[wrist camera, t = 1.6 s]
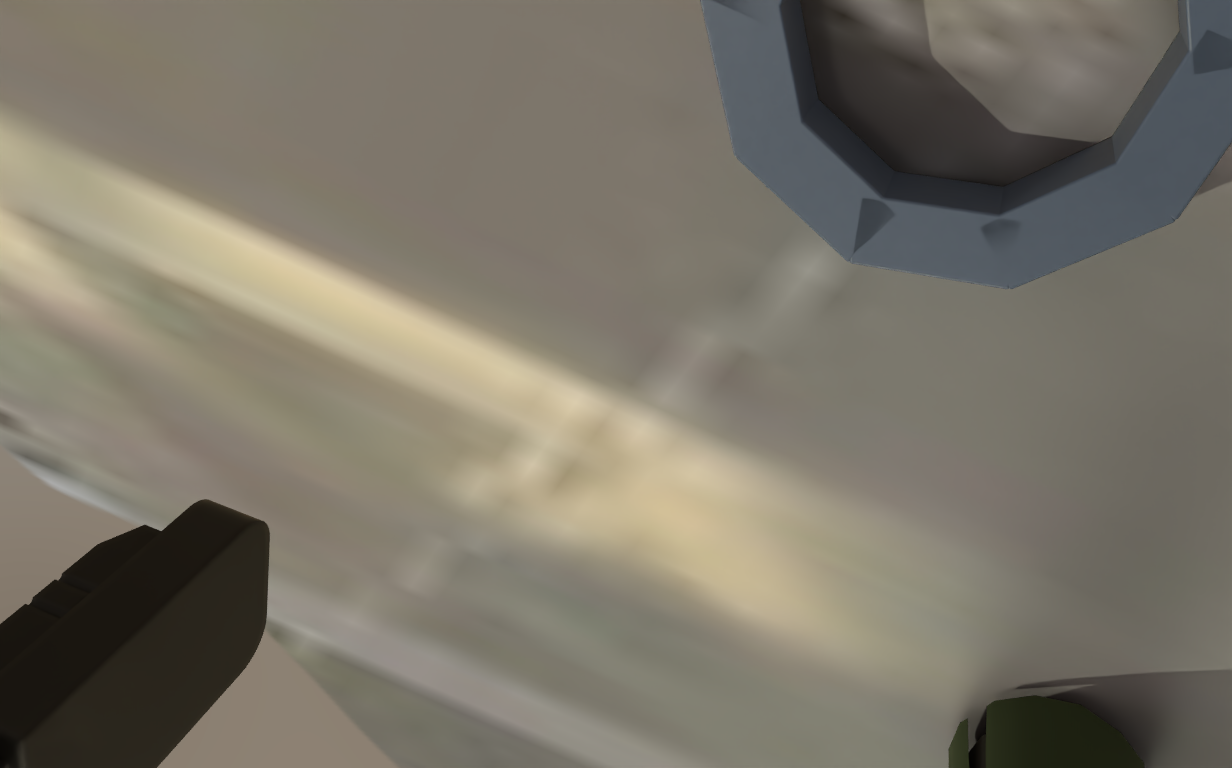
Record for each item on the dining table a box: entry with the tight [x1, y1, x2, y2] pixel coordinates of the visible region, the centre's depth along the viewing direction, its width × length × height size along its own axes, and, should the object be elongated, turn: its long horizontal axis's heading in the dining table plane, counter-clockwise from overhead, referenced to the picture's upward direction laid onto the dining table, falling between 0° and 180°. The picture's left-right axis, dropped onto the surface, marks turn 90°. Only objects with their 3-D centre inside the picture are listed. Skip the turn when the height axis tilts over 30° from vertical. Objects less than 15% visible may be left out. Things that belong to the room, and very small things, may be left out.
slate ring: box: [700, 0, 1232, 289], centre depth 29 cm, size 13×14×2 cm
